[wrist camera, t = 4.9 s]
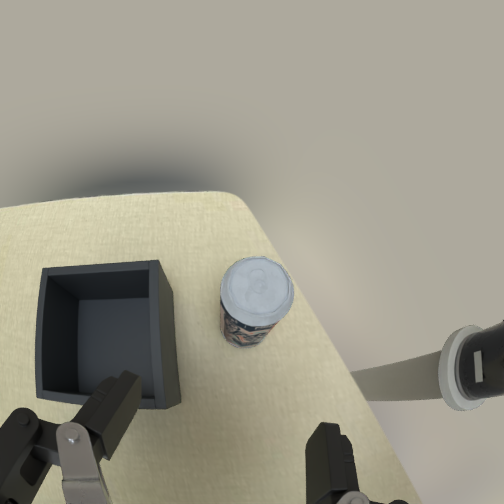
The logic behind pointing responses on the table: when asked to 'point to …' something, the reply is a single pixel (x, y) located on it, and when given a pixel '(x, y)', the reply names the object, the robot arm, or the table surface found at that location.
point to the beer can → (253, 300)
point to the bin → (106, 332)
